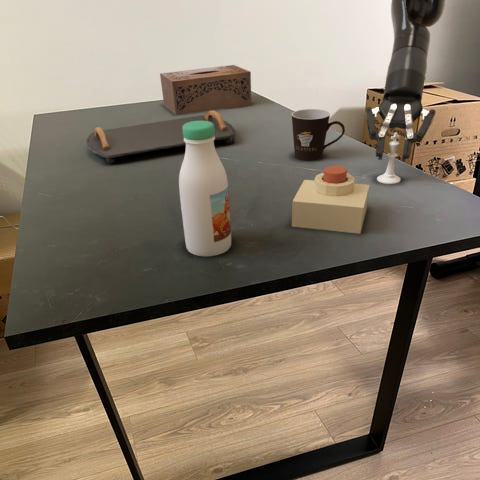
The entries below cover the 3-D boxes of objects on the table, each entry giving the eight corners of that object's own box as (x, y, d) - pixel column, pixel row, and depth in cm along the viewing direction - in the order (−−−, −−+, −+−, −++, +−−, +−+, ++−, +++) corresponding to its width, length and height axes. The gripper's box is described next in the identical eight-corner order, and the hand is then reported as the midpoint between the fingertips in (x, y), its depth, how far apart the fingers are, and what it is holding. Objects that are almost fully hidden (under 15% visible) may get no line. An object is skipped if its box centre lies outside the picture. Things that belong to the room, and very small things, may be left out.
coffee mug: (282, 158, 113) (283, 114, 107) (306, 149, 117) (308, 107, 111) (320, 170, 106) (323, 123, 100) (344, 160, 110) (348, 115, 104)
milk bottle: (199, 263, 75) (186, 135, 63) (178, 244, 81) (162, 123, 68) (240, 249, 78) (234, 124, 66) (217, 232, 84) (208, 113, 71)
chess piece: (371, 179, 100) (378, 131, 94) (392, 176, 101) (399, 127, 95) (384, 187, 96) (392, 137, 90) (405, 184, 98) (414, 134, 91)
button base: (366, 210, 88) (371, 174, 84) (360, 235, 81) (365, 197, 76) (303, 204, 92) (305, 169, 87) (291, 228, 84) (292, 190, 80)
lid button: (347, 177, 84) (348, 166, 83) (344, 186, 81) (345, 174, 80) (325, 175, 85) (326, 164, 84) (321, 184, 82) (322, 172, 81)
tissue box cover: (235, 96, 165) (233, 64, 159) (251, 105, 154) (250, 71, 148) (164, 106, 158) (159, 73, 152) (176, 116, 147) (171, 81, 141)
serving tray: (214, 123, 139) (213, 101, 135) (246, 144, 122) (245, 119, 118) (82, 144, 128) (76, 120, 124) (96, 171, 111) (90, 144, 107)
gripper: (369, 66, 93) (355, 147, 92) (446, 67, 90) (432, 152, 88) (369, 89, 101) (355, 165, 99) (439, 91, 97) (427, 170, 95)
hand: (392, 158), depth 93 cm, fingers open, 4 cm apart
